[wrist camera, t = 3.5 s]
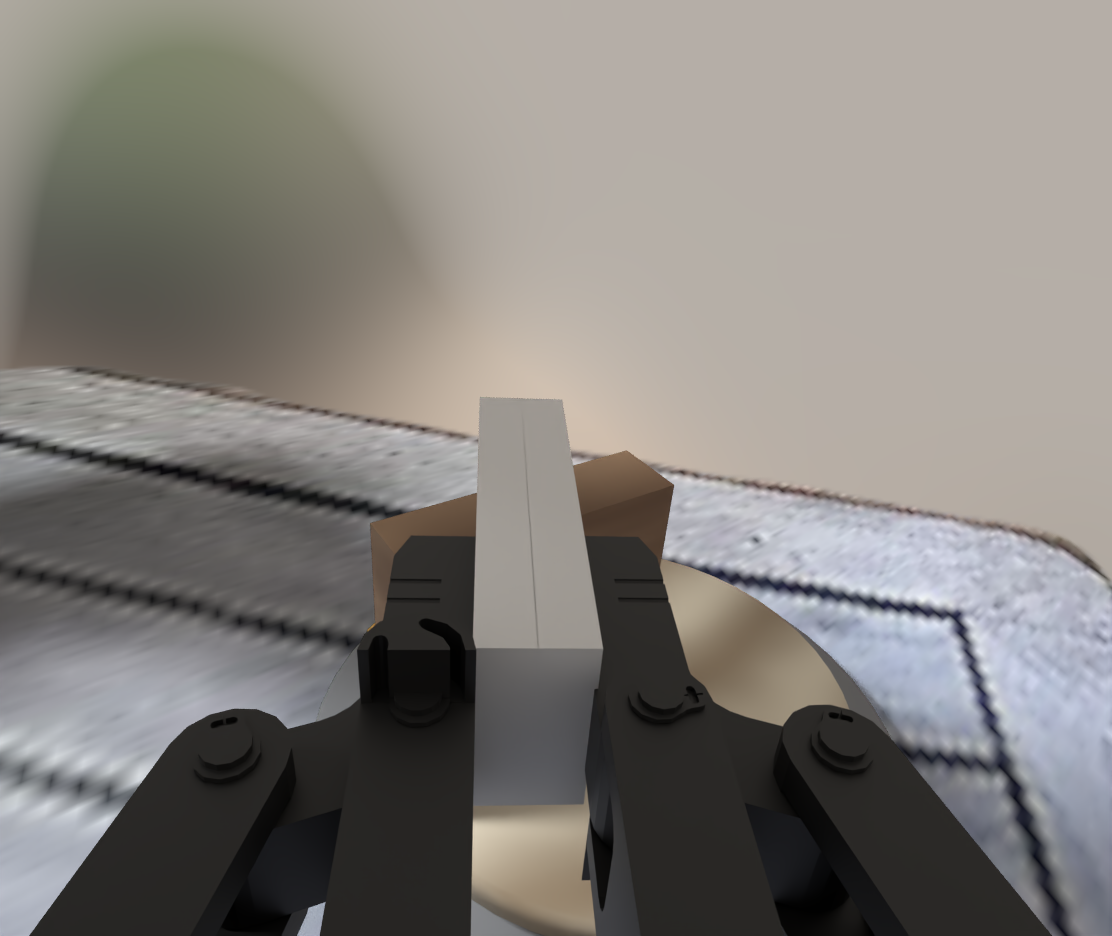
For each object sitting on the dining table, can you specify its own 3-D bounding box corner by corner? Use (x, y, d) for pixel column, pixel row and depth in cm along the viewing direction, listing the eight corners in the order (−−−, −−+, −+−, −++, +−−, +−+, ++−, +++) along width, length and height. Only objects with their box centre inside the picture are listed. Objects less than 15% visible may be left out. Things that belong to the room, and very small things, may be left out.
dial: (305, 656, 34) (278, 406, 28) (645, 536, 43) (678, 328, 38) (544, 1082, 22) (583, 793, 16) (950, 787, 31) (1070, 535, 25)
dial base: (232, 679, 36) (227, 646, 35) (646, 533, 48) (651, 505, 47) (507, 1292, 20) (511, 1262, 19) (1028, 846, 32) (1046, 814, 31)
